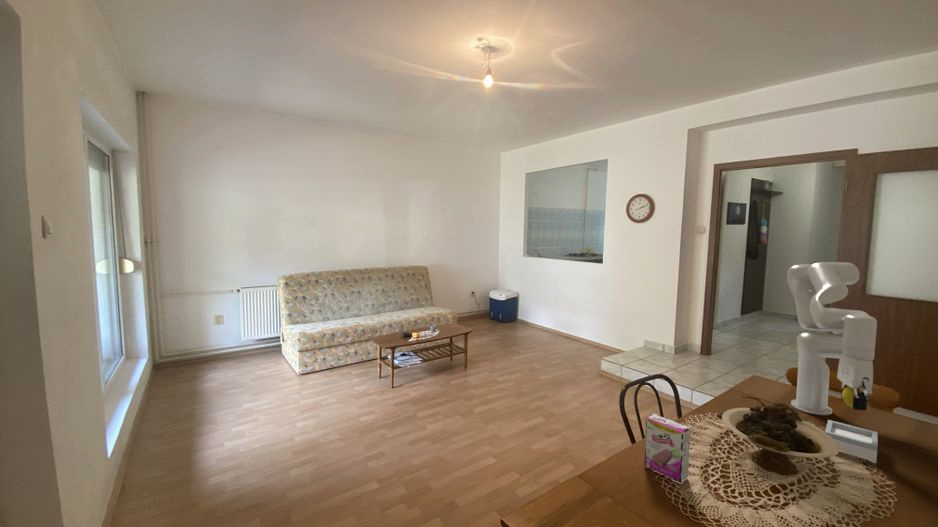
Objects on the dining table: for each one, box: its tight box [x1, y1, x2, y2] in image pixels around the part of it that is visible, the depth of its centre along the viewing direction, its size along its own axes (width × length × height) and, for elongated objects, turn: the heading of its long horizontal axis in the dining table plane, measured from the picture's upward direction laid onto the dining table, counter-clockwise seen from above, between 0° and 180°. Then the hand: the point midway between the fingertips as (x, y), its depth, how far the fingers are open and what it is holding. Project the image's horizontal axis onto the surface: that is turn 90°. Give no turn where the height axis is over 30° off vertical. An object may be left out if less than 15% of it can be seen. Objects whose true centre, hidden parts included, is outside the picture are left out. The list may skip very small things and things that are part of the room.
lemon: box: [841, 386, 863, 409], centre depth 126 cm, size 6×6×8 cm
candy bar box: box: [643, 413, 691, 483], centre depth 114 cm, size 11×5×16 cm, turn 37°
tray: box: [824, 419, 879, 464], centre depth 127 cm, size 12×12×6 cm
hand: (853, 404), depth 126 cm, fingers closed on lemon, 5 cm apart
